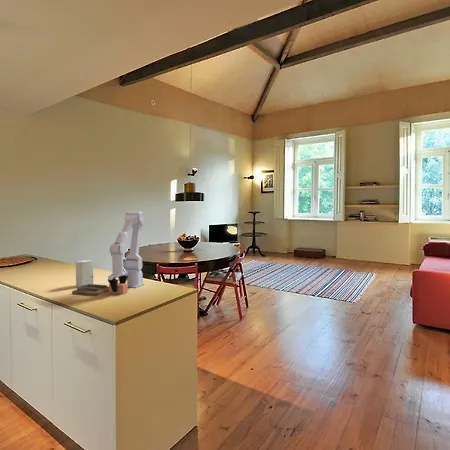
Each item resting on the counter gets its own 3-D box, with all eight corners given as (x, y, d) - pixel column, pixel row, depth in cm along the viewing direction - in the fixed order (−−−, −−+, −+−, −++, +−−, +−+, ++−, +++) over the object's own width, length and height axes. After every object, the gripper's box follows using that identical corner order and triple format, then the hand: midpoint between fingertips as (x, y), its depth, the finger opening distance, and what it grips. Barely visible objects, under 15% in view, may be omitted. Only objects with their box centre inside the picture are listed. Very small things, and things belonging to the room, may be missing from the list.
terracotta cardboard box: (113, 291, 185) (113, 282, 184) (127, 292, 182) (127, 283, 182) (109, 293, 181) (108, 284, 180) (123, 294, 178) (123, 285, 178)
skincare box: (82, 287, 194) (81, 262, 193) (75, 286, 197) (74, 261, 196) (94, 284, 201) (93, 260, 200) (87, 283, 204) (86, 259, 203)
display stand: (90, 287, 193) (89, 282, 193) (113, 289, 188) (113, 284, 188) (72, 293, 180) (72, 288, 179) (96, 296, 175) (96, 290, 175)
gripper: (115, 268, 172) (116, 294, 173) (131, 263, 186) (132, 287, 187) (104, 267, 174) (105, 293, 175) (121, 263, 188) (121, 286, 189)
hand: (118, 290), depth 181 cm, fingers open, 6 cm apart
